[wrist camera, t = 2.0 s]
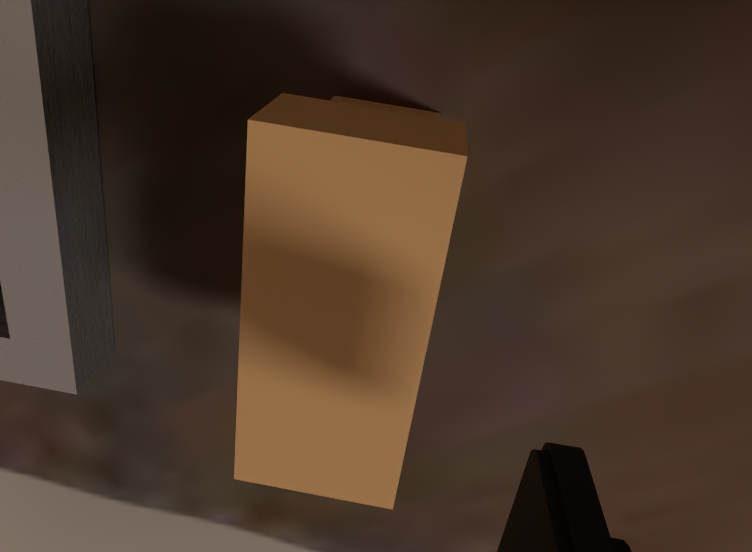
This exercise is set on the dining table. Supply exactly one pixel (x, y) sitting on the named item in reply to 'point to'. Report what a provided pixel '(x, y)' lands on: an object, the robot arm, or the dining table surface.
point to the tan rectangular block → (339, 289)
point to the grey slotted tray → (50, 200)
